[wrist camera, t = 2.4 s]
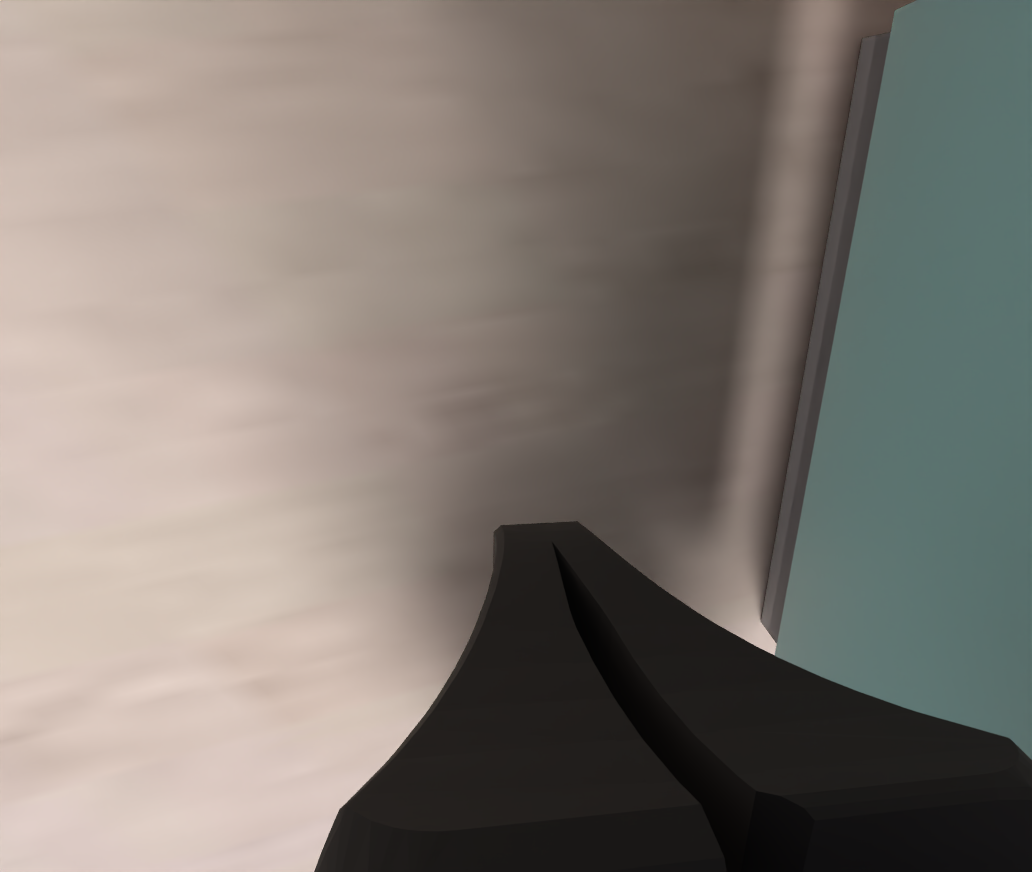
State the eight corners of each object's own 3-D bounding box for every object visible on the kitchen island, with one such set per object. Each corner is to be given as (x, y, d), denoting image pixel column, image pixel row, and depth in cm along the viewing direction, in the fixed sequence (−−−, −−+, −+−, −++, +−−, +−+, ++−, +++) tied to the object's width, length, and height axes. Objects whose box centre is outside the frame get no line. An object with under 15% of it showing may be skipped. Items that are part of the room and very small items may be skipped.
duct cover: (963, 1220, 11) (896, 1208, 12) (799, 712, 22) (764, 709, 22) (1668, -273, 5) (1489, -268, 5) (947, 10, 15) (894, 10, 15)
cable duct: (1019, 603, 27) (1115, 677, 23) (760, 621, 26) (820, 702, 22) (1200, 52, 20) (1377, 33, 16) (862, 38, 19) (972, 14, 15)
